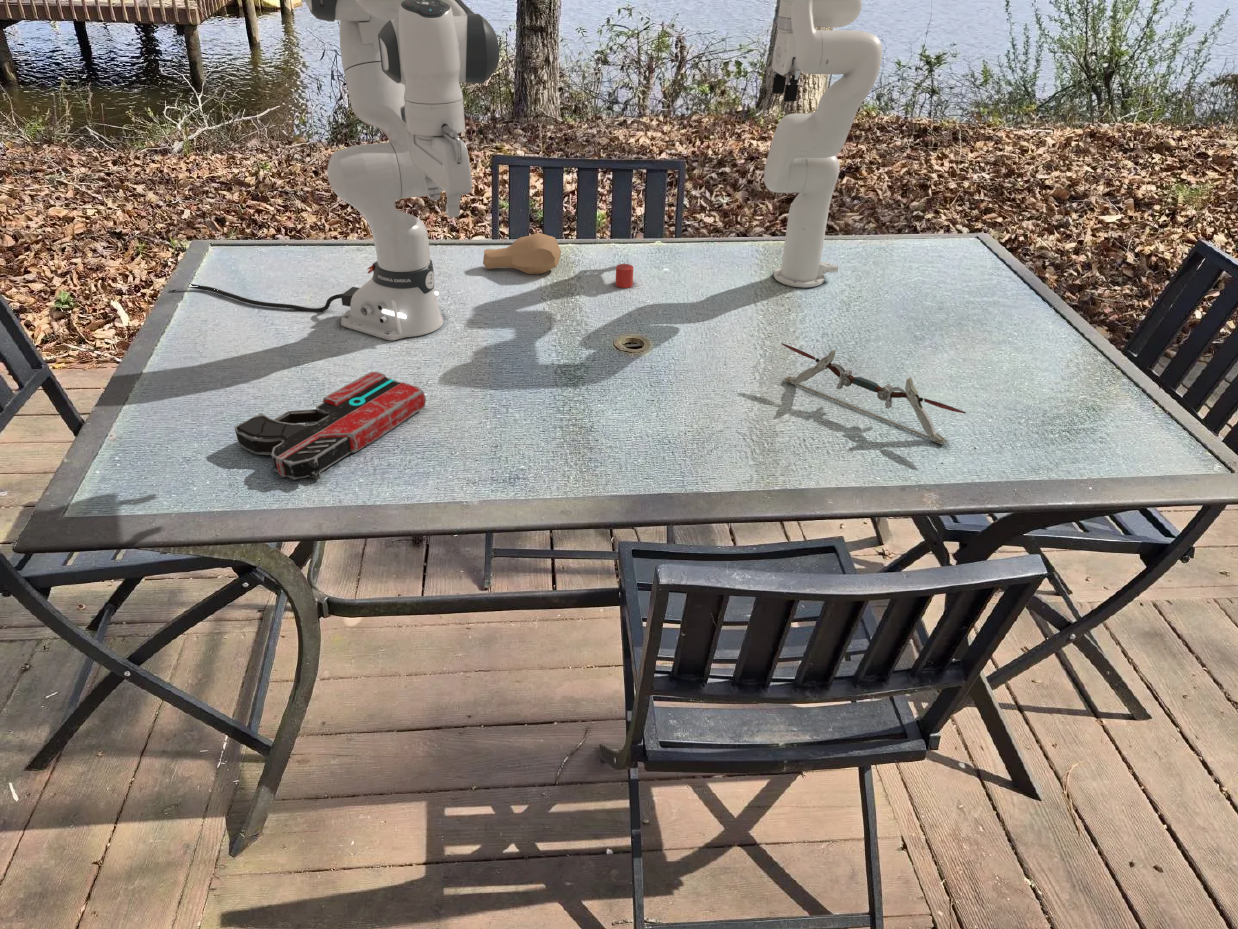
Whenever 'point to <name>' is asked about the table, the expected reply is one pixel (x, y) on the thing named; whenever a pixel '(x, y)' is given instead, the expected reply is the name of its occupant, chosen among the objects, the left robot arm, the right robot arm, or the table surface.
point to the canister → (624, 275)
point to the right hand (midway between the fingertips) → (783, 97)
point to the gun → (331, 425)
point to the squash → (526, 254)
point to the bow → (883, 393)
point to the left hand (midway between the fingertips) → (443, 207)
